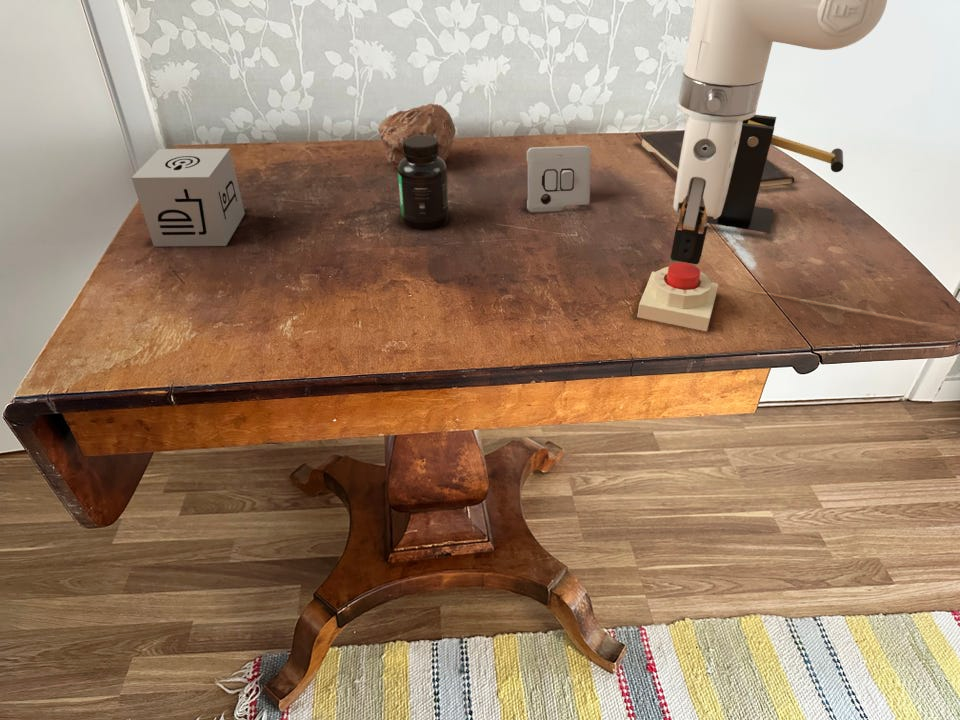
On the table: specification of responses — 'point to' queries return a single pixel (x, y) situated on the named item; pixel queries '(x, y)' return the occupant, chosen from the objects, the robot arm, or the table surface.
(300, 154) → the table surface
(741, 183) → the bracket
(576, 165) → the electrical switch
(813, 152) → the lever
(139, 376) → the table surface
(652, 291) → the switch box
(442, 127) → the decorative rock
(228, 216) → the icon cube
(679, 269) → the button
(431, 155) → the supplement bottle
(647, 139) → the hardcover book
